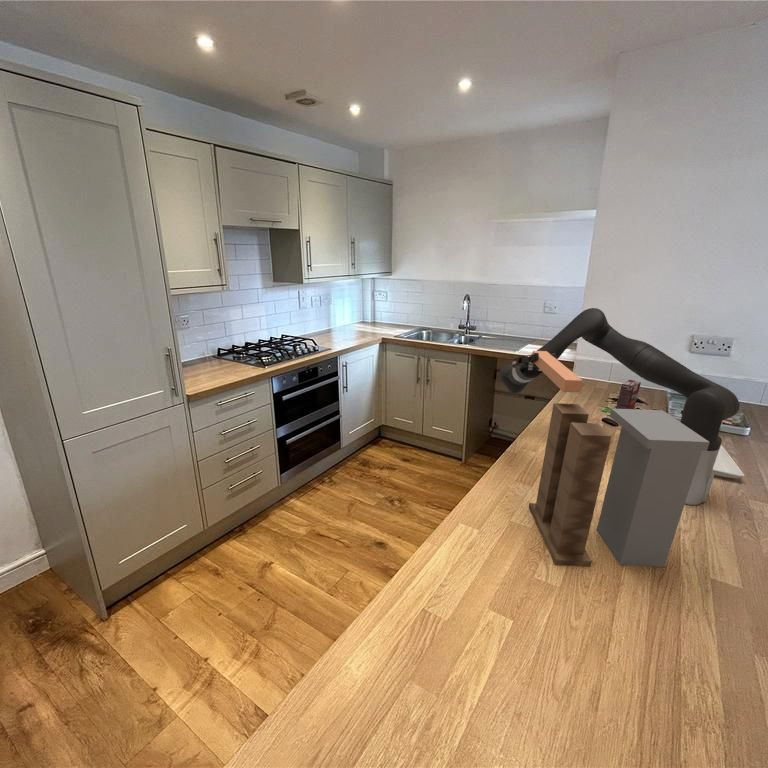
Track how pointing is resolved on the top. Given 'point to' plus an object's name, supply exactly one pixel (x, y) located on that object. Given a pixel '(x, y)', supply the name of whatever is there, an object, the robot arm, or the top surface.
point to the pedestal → (648, 485)
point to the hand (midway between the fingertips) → (545, 356)
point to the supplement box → (628, 395)
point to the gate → (570, 483)
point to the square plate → (726, 465)
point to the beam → (558, 372)
